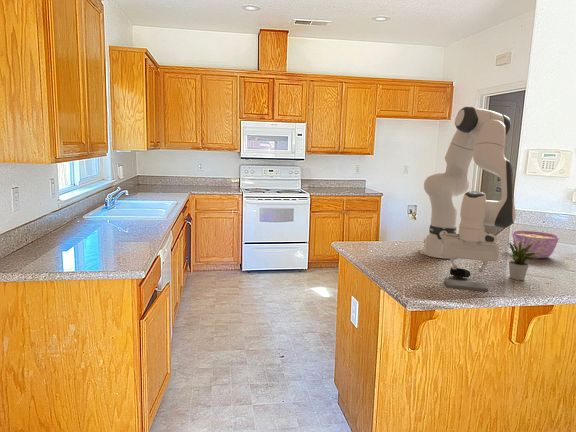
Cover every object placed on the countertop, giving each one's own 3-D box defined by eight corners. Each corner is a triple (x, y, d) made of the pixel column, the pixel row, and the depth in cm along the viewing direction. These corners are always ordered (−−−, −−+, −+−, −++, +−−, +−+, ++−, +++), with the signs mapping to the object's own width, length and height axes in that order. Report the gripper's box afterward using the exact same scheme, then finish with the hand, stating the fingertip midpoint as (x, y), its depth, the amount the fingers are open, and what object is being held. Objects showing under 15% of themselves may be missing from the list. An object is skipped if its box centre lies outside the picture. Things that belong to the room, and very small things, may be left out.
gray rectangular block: (444, 281, 164) (445, 278, 164) (484, 285, 160) (484, 282, 160) (446, 287, 157) (447, 284, 156) (488, 291, 153) (488, 288, 153)
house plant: (495, 280, 167) (500, 239, 165) (492, 271, 180) (496, 233, 178) (537, 285, 163) (542, 243, 160) (530, 275, 175) (535, 236, 173)
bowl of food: (509, 258, 204) (511, 235, 203) (509, 250, 222) (512, 229, 220) (558, 265, 195) (561, 240, 193) (554, 256, 213) (557, 233, 211)
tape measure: (464, 278, 163) (465, 268, 164) (446, 275, 168) (447, 266, 168) (470, 279, 168) (471, 270, 169) (452, 276, 173) (454, 267, 173)
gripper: (442, 234, 160) (439, 269, 163) (502, 238, 155) (498, 275, 158) (441, 231, 167) (438, 265, 169) (498, 235, 162) (494, 270, 164)
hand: (467, 270), depth 163 cm, fingers open, 8 cm apart
